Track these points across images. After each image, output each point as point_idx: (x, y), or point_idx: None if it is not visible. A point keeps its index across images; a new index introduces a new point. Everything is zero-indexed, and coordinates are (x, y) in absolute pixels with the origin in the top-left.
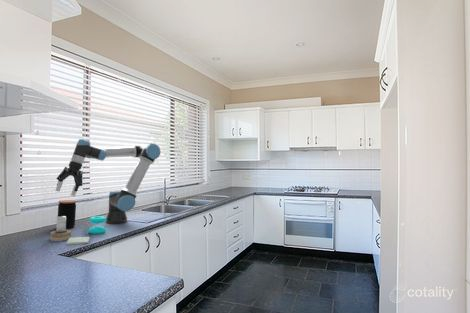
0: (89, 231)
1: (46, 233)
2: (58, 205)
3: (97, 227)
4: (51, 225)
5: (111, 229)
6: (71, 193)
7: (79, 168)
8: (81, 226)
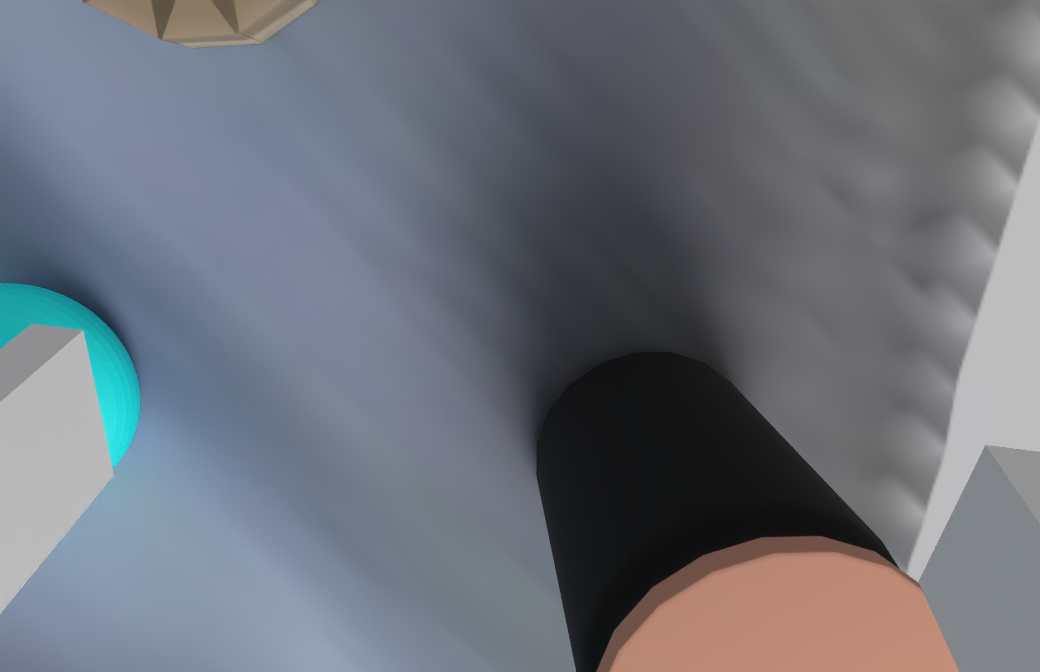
0: (61, 297)
1: (625, 83)
2: (866, 529)
3: None
4: (890, 456)
5: None
6: (15, 376)
7: None
8: (495, 562)
